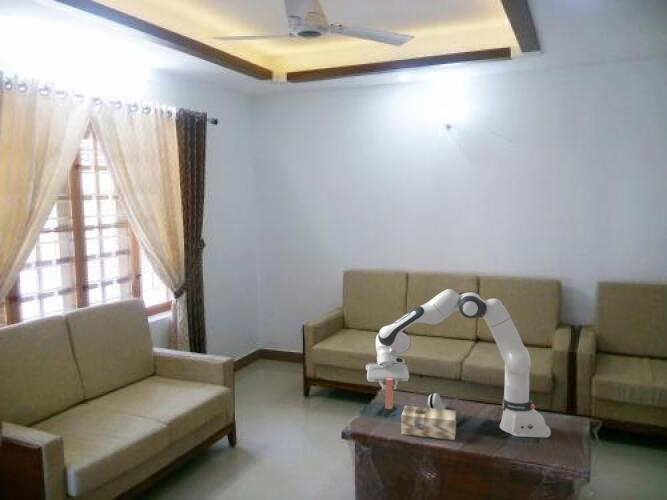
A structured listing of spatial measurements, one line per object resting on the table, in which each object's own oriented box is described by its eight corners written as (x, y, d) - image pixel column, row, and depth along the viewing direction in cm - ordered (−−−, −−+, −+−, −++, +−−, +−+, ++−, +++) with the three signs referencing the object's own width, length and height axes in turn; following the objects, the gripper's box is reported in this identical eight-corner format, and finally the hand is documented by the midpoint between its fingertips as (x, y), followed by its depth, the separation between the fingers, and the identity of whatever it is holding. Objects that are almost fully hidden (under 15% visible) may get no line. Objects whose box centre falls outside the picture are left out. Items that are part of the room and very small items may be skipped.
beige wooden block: (455, 429, 263) (456, 410, 262) (454, 440, 251) (454, 420, 250) (404, 423, 269) (405, 405, 268) (401, 434, 257) (401, 415, 256)
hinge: (441, 419, 274) (435, 399, 275) (432, 421, 276) (426, 402, 276) (445, 407, 290) (439, 388, 290) (437, 409, 292) (430, 390, 292)
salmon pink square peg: (392, 406, 267) (393, 378, 266) (391, 409, 264) (391, 380, 263) (386, 406, 268) (386, 377, 267) (385, 408, 265) (385, 379, 264)
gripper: (365, 359, 270) (368, 386, 262) (407, 359, 272) (411, 385, 263) (364, 366, 275) (366, 392, 266) (405, 365, 277) (409, 391, 268)
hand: (389, 389), depth 265 cm, fingers closed on salmon pink square peg, 4 cm apart
